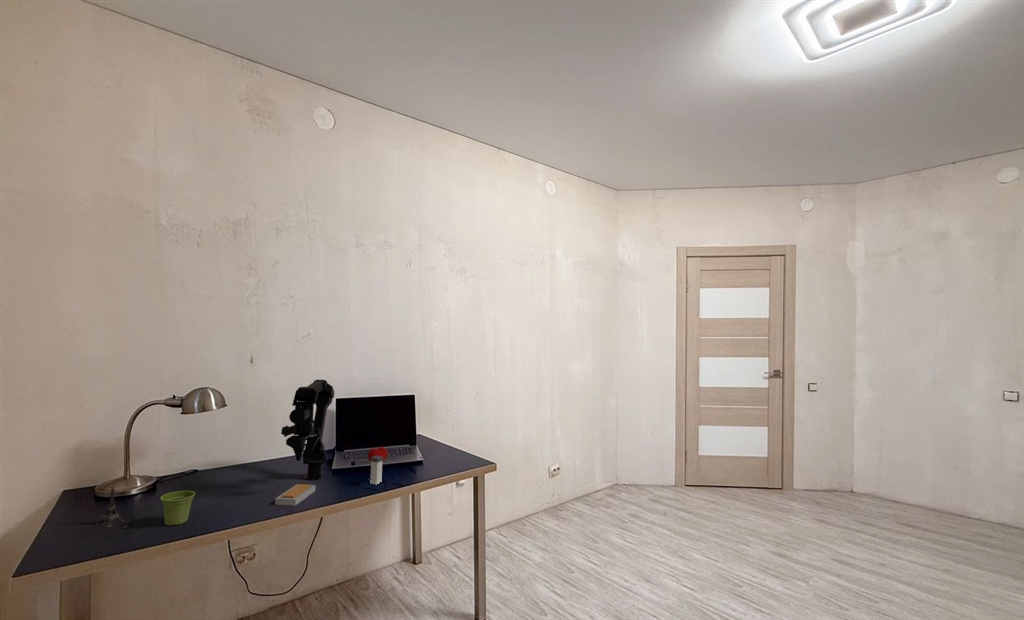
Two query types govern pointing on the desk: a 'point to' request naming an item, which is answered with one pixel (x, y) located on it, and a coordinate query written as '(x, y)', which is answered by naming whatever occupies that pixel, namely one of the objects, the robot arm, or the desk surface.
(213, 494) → the desk surface
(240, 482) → the desk surface
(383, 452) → the red heart figurine
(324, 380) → the robot arm
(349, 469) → the desk surface
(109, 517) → the eiffel tower figurine
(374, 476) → the white tall block
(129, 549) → the desk surface
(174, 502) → the plant pot
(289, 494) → the button
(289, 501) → the button housing
